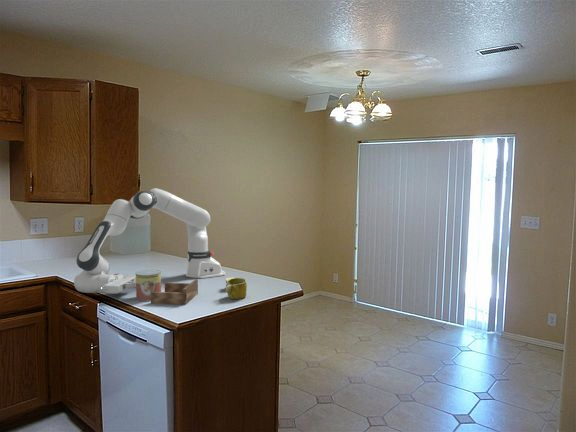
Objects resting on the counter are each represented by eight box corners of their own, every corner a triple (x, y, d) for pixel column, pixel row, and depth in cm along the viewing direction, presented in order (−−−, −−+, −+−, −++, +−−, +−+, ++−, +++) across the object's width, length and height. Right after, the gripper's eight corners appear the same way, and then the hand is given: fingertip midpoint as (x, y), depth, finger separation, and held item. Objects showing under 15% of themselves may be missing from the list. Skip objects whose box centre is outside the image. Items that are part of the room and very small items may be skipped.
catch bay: (150, 303, 194) (150, 288, 193) (165, 292, 212) (165, 278, 211) (186, 304, 192) (185, 289, 192) (197, 293, 211) (197, 279, 210)
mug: (236, 288, 213) (237, 271, 209) (250, 298, 207) (252, 281, 203) (217, 298, 204) (218, 280, 200) (231, 308, 199) (232, 290, 194)
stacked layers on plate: (219, 288, 222) (219, 277, 222) (236, 286, 226) (236, 276, 226) (225, 293, 213) (225, 282, 213) (242, 291, 217) (242, 280, 217)
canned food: (135, 301, 196) (134, 275, 195) (137, 295, 207) (136, 270, 206) (161, 300, 199) (160, 274, 198) (161, 293, 210) (161, 269, 209)
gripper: (97, 282, 194) (127, 283, 192) (118, 272, 214) (145, 273, 213) (97, 296, 194) (127, 297, 193) (119, 285, 214) (146, 286, 213)
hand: (137, 284), depth 203 cm, fingers closed, pressing on canned food
